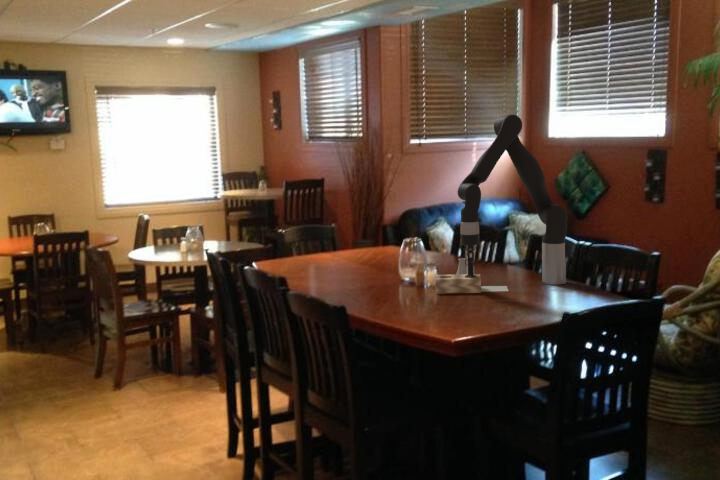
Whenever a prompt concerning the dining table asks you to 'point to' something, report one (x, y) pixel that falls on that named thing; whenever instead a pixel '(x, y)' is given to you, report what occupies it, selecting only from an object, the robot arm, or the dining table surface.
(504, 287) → the mat
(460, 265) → the flask
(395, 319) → the dining table surface
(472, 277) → the peg
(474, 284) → the hole block
